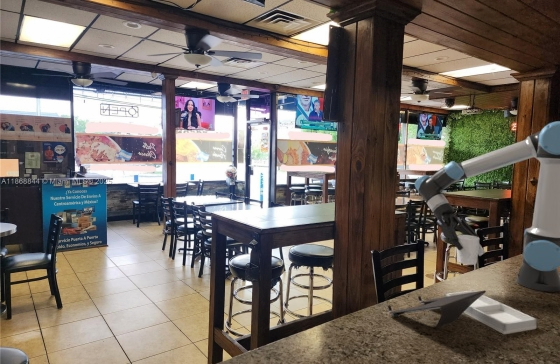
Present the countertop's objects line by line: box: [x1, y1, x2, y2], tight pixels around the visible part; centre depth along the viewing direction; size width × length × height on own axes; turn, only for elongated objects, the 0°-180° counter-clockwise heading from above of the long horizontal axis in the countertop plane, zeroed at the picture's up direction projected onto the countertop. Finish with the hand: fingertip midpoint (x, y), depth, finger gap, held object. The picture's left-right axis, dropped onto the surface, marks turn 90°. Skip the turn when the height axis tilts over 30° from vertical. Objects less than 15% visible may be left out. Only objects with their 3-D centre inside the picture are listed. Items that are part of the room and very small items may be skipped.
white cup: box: [456, 234, 480, 266], centre depth 141 cm, size 8×8×10 cm
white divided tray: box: [443, 289, 538, 335], centre depth 120 cm, size 13×24×3 cm, turn 17°
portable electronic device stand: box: [387, 290, 487, 330], centre depth 115 cm, size 23×23×9 cm
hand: (475, 255), depth 138 cm, fingers closed on white cup, 8 cm apart
